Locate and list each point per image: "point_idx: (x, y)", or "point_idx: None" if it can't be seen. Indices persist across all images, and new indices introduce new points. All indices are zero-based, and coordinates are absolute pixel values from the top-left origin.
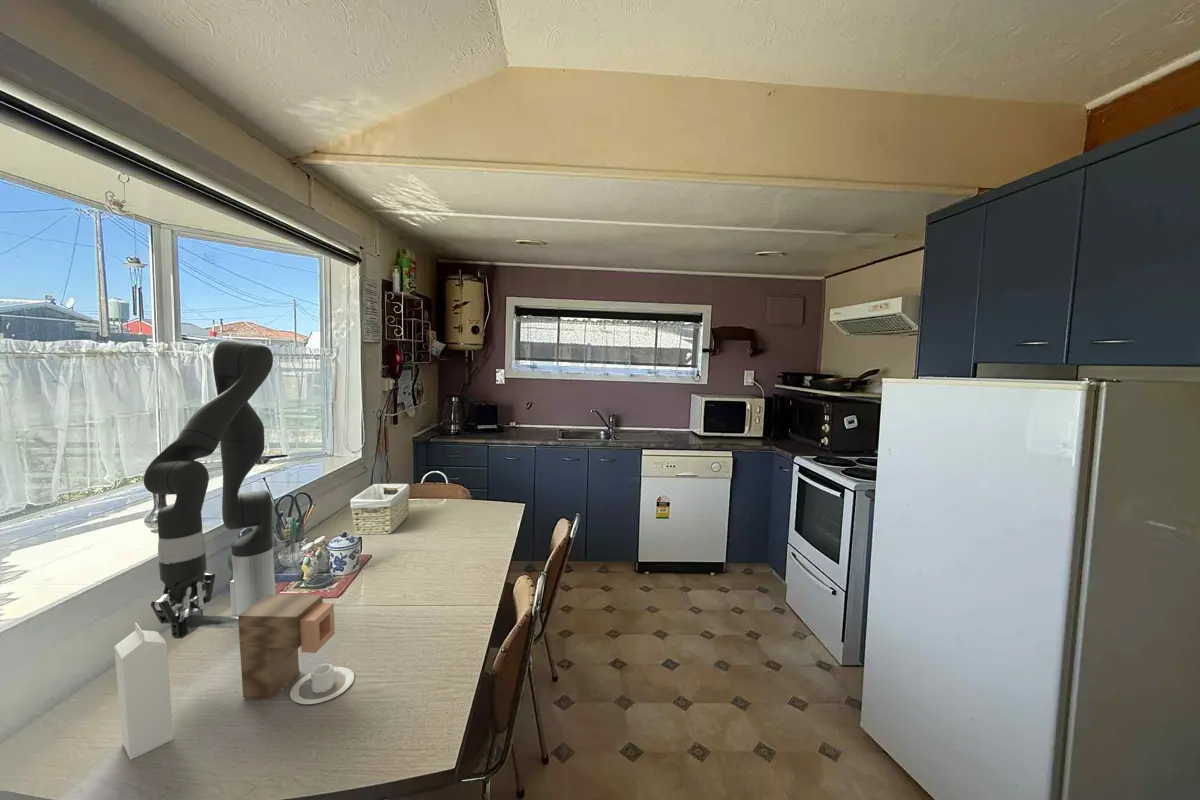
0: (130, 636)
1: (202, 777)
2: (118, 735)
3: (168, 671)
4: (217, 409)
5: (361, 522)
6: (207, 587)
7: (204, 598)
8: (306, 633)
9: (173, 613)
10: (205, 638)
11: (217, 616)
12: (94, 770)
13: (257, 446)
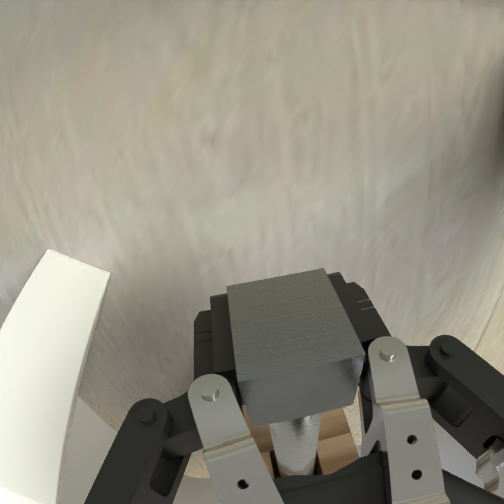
0: None
1: (87, 389)
2: (54, 212)
3: (67, 447)
4: None
5: None
6: (467, 441)
7: (425, 398)
8: None
9: (172, 489)
10: (440, 42)
11: (297, 447)
12: (8, 265)
13: None
